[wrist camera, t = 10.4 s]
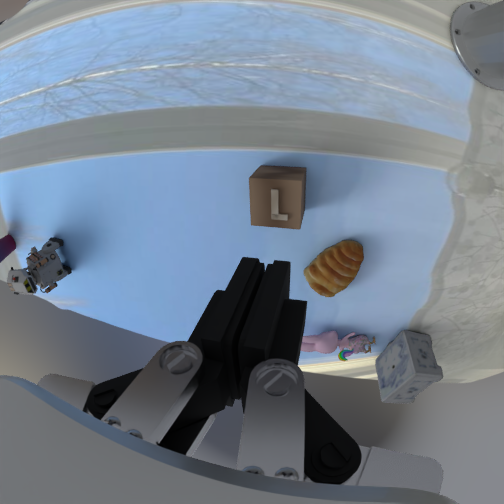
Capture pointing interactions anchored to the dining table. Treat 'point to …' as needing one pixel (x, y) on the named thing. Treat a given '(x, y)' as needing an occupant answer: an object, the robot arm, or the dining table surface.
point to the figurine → (39, 270)
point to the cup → (6, 246)
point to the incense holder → (407, 367)
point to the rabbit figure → (335, 344)
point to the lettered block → (277, 196)
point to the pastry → (334, 268)
